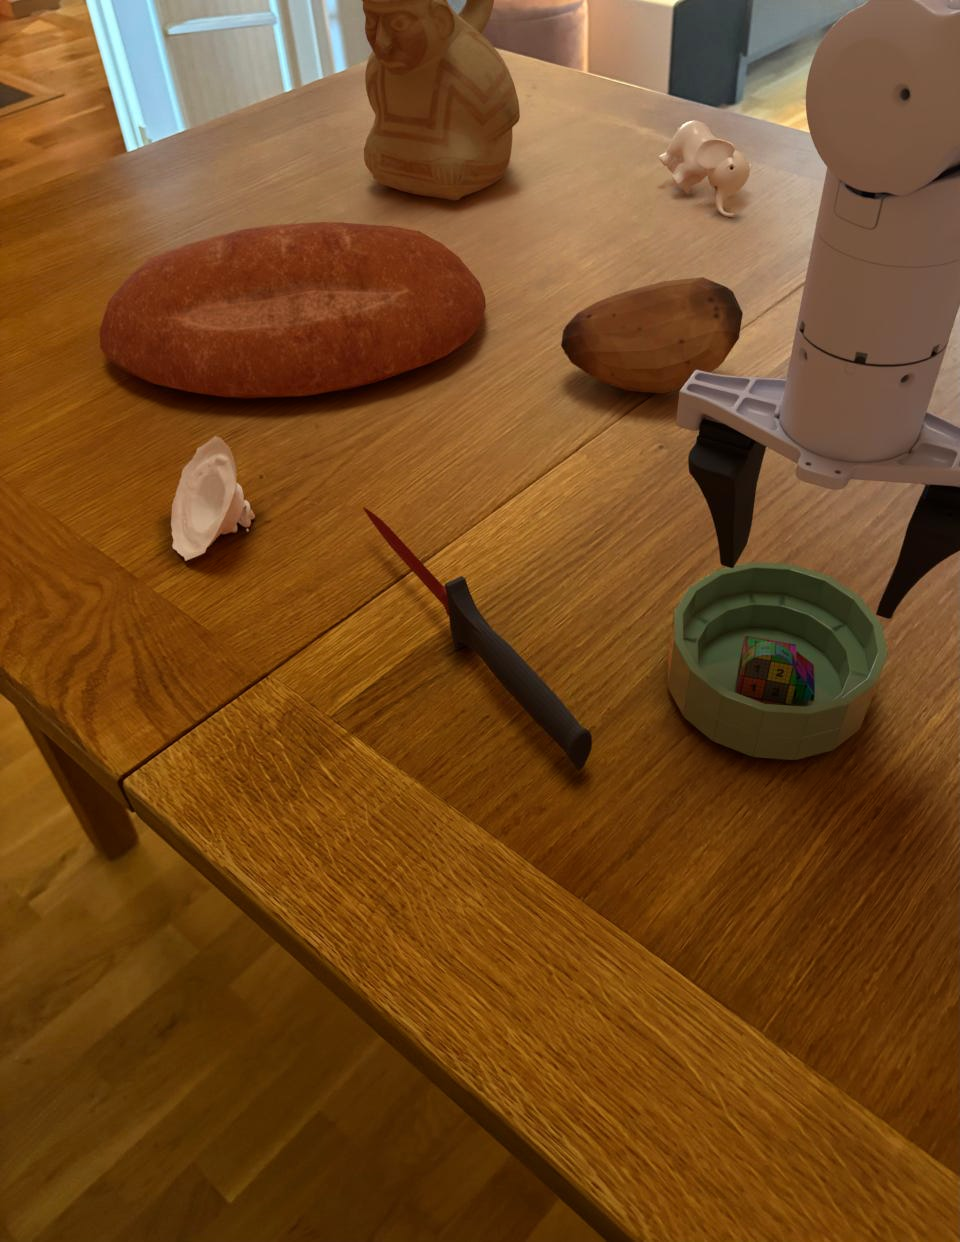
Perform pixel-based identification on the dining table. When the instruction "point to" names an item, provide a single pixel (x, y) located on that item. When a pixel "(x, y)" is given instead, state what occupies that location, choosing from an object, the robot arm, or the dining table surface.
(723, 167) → the elephant figurine
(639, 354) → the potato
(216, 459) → the seashell
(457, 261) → the bread
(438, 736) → the dining table surface
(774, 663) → the block
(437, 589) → the knife
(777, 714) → the bowl
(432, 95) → the ceramic vessel
